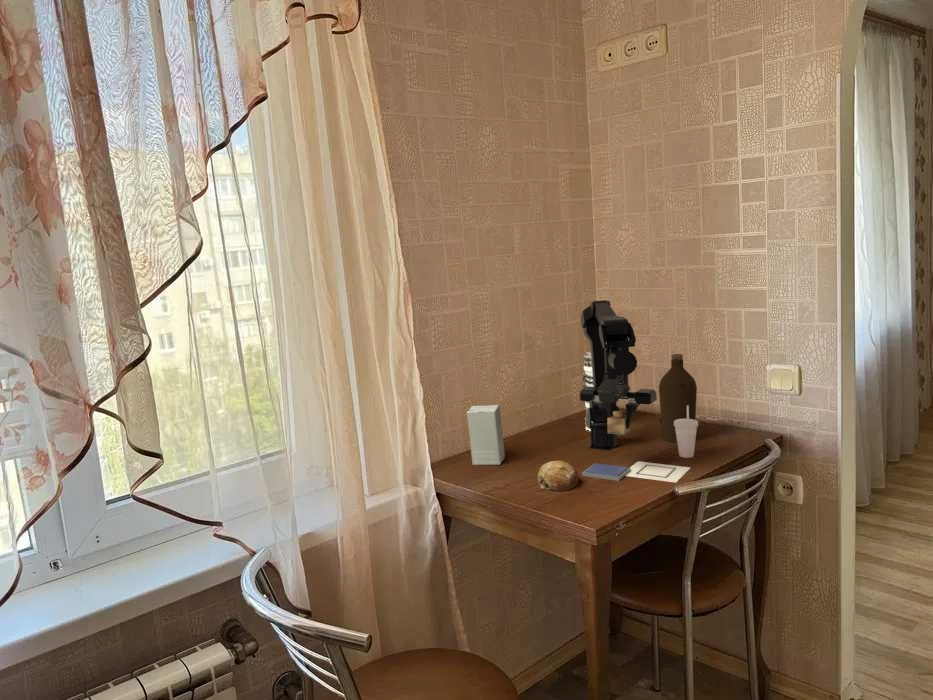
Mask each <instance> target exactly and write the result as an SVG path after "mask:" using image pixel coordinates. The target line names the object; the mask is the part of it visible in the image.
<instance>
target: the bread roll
mask: <svg viewBox="0 0 933 700" xmlns="http://www.w3.org/2000/svg"><path fill="white" fill-rule="evenodd" d="M537 480H538V481H537V482H538V486H539V487H540V489H542V490H543V489H544V490H546V491H553V492H565V491H569V490H572V489H574V488H575V487H576V486H577V485H578V481H579V475H578V472H577V470H576V469H575V467H573V465H572V464H571V463H568V462H567V461H564V460H553V461H548V462H546V463H543V465H542V466H541V467H540V468H539V470H538V473H537Z"/></svg>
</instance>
